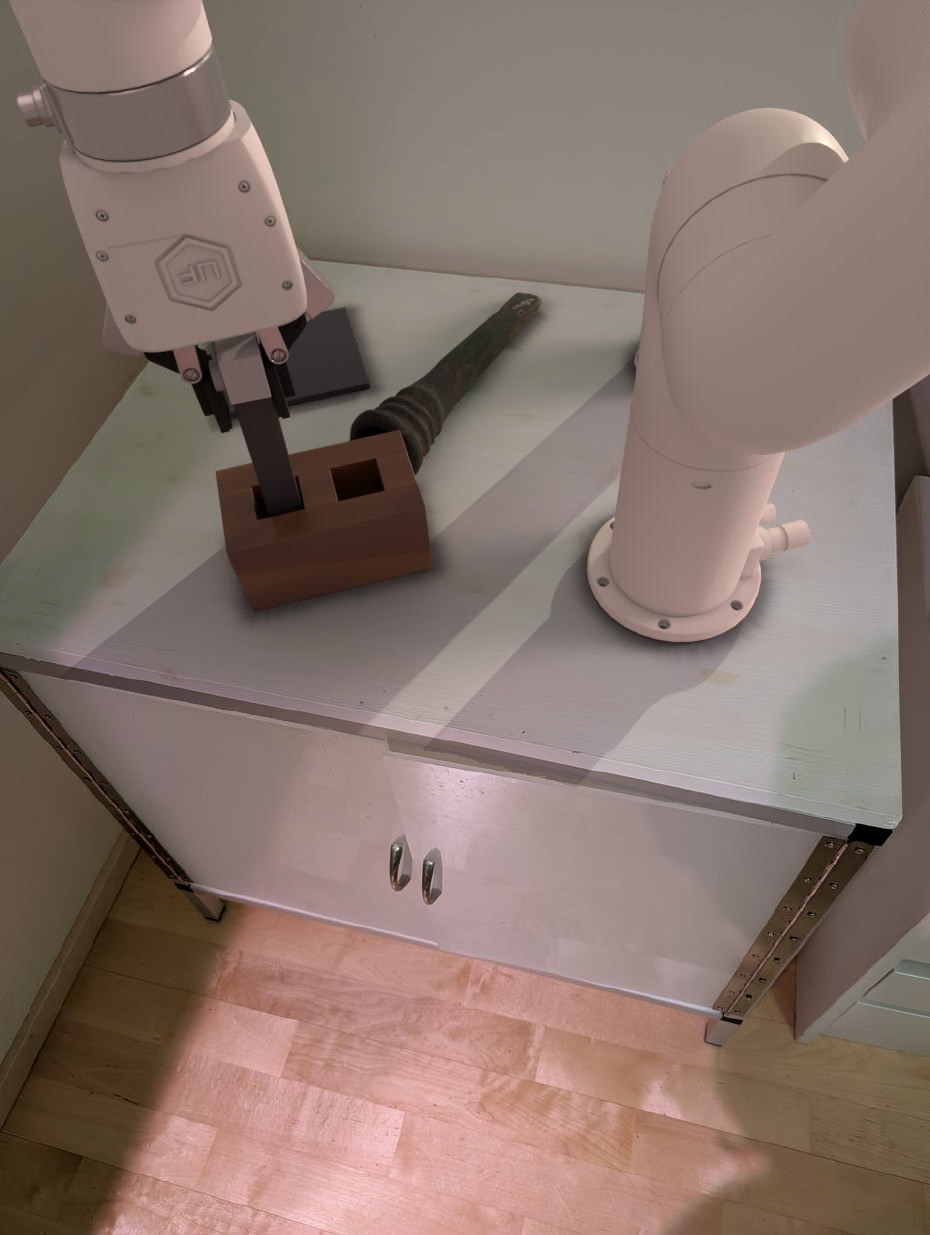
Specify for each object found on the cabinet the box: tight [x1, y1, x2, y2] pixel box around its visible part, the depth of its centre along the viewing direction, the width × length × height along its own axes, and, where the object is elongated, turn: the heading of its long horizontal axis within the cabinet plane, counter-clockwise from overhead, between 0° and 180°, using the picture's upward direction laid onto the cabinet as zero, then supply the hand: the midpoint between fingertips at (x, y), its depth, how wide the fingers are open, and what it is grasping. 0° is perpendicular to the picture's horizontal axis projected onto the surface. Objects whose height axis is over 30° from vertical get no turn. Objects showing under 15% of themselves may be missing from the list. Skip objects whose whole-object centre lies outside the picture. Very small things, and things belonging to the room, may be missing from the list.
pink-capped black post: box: [209, 332, 303, 517], centre depth 54 cm, size 3×4×14 cm
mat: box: [225, 306, 371, 419], centre depth 79 cm, size 13×12×1 cm
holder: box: [215, 430, 434, 613], centre depth 63 cm, size 8×14×7 cm, turn 105°
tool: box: [349, 292, 542, 476], centre depth 73 cm, size 28×6×7 cm, turn 147°
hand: (253, 409), depth 53 cm, fingers closed on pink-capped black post, 3 cm apart
